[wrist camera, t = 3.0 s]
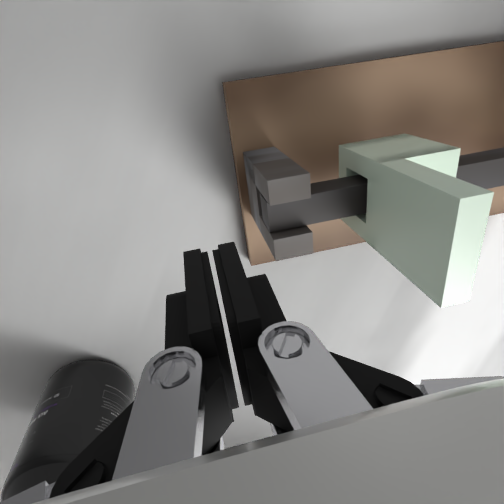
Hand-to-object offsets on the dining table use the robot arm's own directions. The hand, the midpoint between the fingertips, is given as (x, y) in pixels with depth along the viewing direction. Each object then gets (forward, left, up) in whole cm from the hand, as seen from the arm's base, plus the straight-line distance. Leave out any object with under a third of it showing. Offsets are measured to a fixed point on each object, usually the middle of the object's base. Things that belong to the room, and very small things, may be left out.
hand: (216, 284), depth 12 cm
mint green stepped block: (0, -10, -9) cm, 13 cm away
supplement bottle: (-15, +12, -13) cm, 23 cm away
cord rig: (0, -16, -13) cm, 20 cm away
